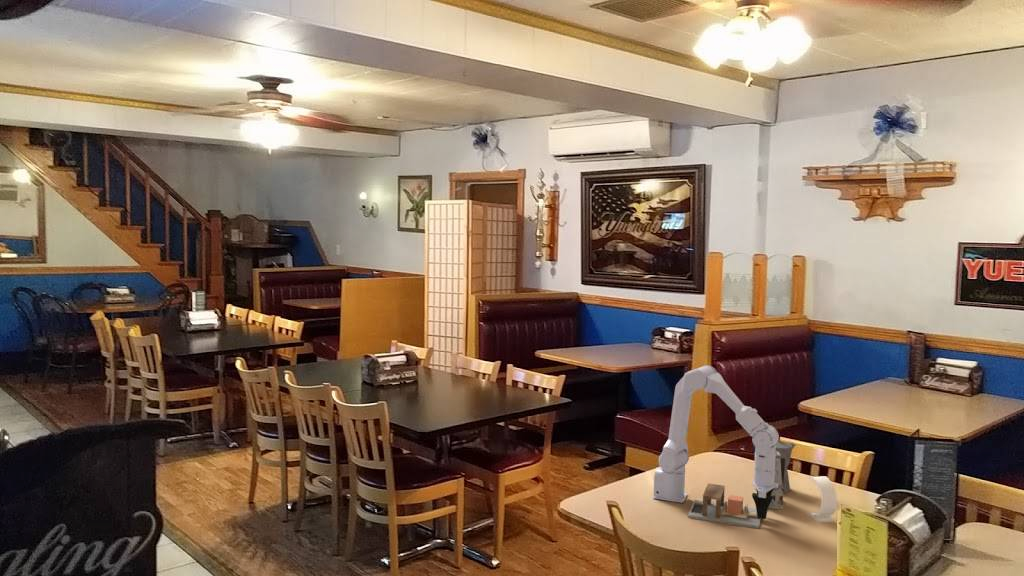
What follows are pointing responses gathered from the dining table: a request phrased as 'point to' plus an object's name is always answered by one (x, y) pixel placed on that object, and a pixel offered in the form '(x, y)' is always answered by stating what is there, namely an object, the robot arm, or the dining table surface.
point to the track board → (711, 515)
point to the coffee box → (778, 481)
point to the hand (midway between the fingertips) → (762, 513)
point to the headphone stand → (825, 500)
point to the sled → (744, 514)
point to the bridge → (713, 493)
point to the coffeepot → (786, 451)
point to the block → (735, 504)
